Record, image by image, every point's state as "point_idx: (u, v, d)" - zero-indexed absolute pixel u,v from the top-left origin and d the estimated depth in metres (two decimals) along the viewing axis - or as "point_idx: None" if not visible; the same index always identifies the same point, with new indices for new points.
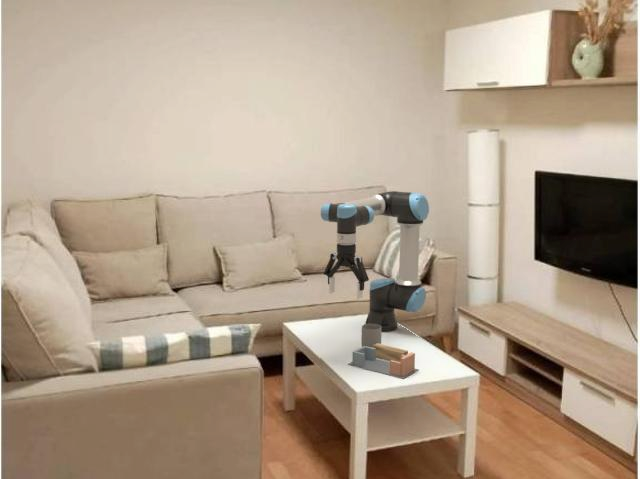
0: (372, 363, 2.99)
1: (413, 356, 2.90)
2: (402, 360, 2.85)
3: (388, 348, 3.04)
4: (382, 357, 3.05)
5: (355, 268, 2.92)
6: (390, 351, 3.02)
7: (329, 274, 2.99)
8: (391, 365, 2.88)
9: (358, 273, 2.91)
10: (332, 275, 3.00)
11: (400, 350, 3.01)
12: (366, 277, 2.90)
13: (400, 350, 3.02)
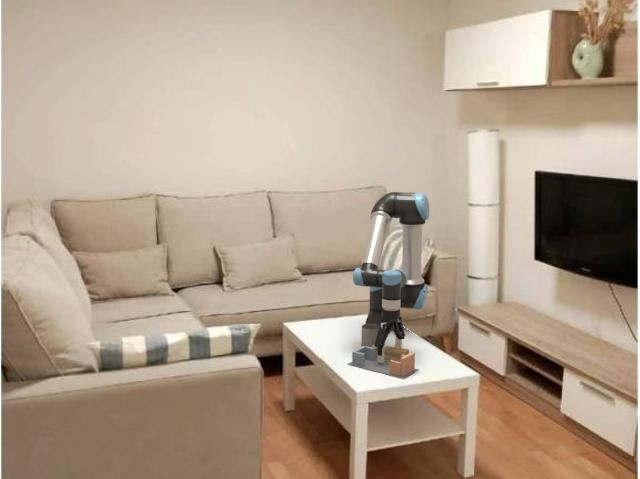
0: (372, 363, 2.99)
1: (413, 356, 2.90)
2: (402, 360, 2.85)
3: (388, 348, 3.04)
4: None
5: (383, 333, 3.00)
6: (392, 351, 3.02)
7: None
8: (391, 365, 2.88)
9: None
10: (400, 338, 3.09)
11: (401, 350, 3.02)
12: (377, 343, 2.96)
13: (401, 349, 3.03)
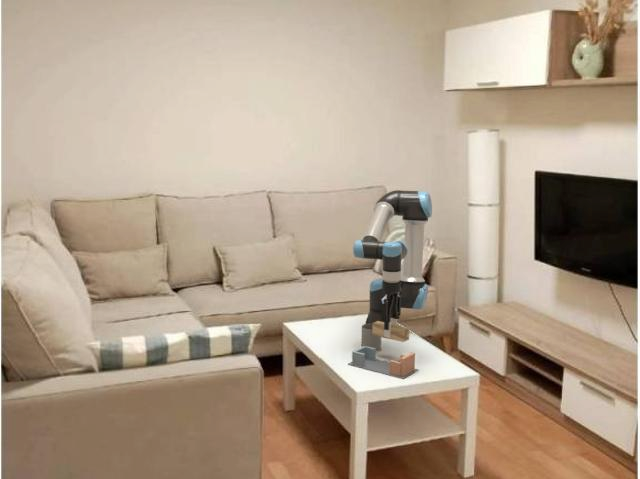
0: (372, 363, 2.99)
1: (413, 356, 2.90)
2: (402, 360, 2.85)
3: None
4: (383, 335, 3.04)
5: None
6: (391, 328, 3.01)
7: None
8: (391, 365, 2.88)
9: None
10: (395, 317, 3.04)
11: (401, 328, 3.00)
12: (383, 318, 2.98)
13: (401, 327, 3.01)
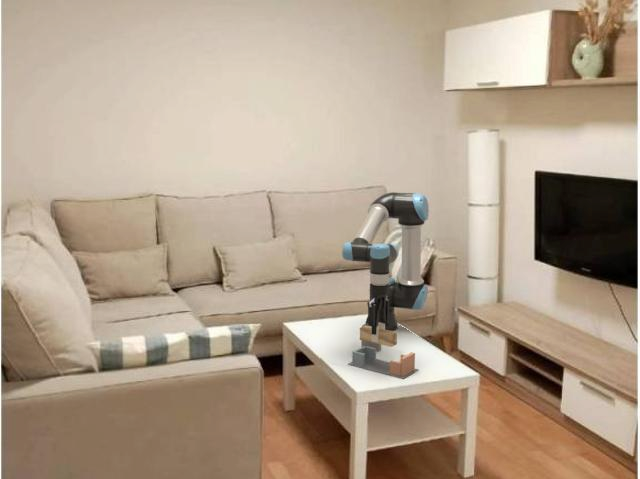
0: (372, 363, 2.99)
1: (413, 356, 2.90)
2: (402, 360, 2.85)
3: None
4: (370, 339, 2.95)
5: (374, 311, 2.91)
6: (379, 333, 2.92)
7: None
8: (391, 365, 2.88)
9: None
10: (383, 321, 2.96)
11: (389, 332, 2.91)
12: (371, 322, 2.89)
13: (389, 332, 2.92)
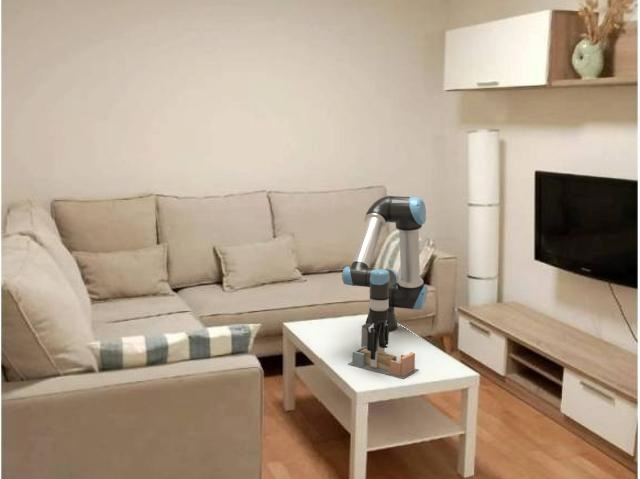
0: None
1: (413, 356, 2.90)
2: (402, 360, 2.85)
3: None
4: (370, 363, 2.97)
5: (373, 336, 2.93)
6: (378, 357, 2.94)
7: None
8: (391, 365, 2.88)
9: None
10: (383, 346, 2.98)
11: (388, 356, 2.93)
12: (370, 348, 2.91)
13: (388, 355, 2.94)
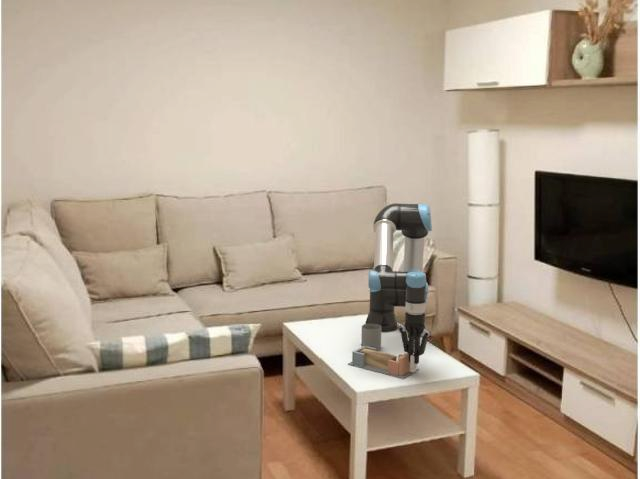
0: None
1: None
2: (400, 359, 2.85)
3: (376, 353, 2.96)
4: (370, 363, 2.97)
5: (418, 340, 2.84)
6: (378, 357, 2.94)
7: (409, 351, 2.86)
8: (389, 364, 2.88)
9: (418, 346, 2.84)
10: (413, 351, 2.87)
11: (388, 356, 2.93)
12: (423, 351, 2.84)
13: (388, 355, 2.94)
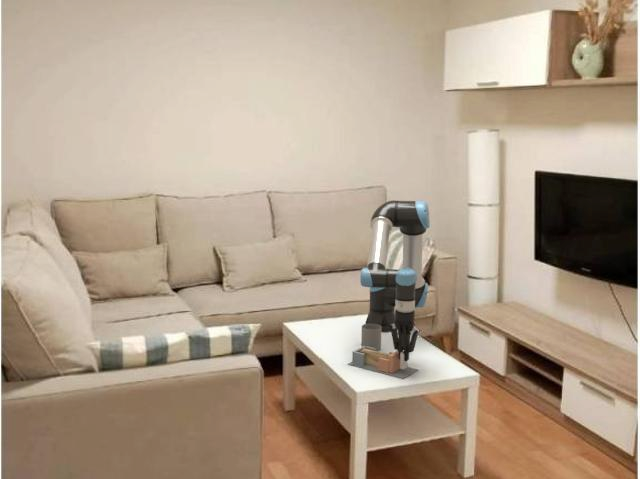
0: None
1: None
2: (390, 357, 2.88)
3: (376, 353, 2.96)
4: (370, 363, 2.97)
5: (408, 338, 2.87)
6: (378, 357, 2.94)
7: (399, 348, 2.88)
8: (379, 362, 2.91)
9: (407, 343, 2.87)
10: (403, 349, 2.90)
11: (388, 356, 2.93)
12: (412, 349, 2.86)
13: (388, 355, 2.94)
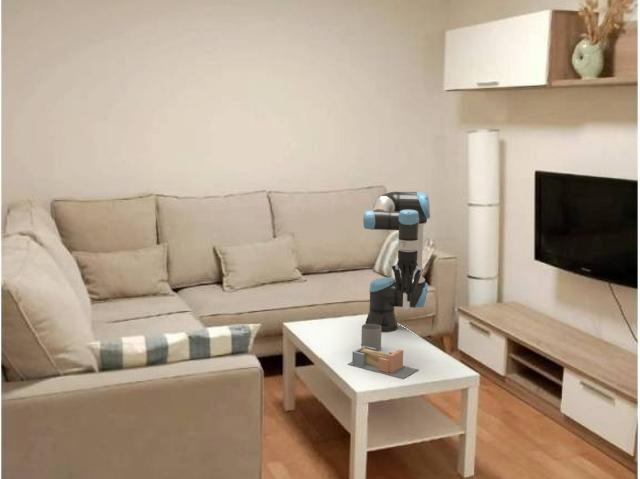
0: None
1: (401, 353, 2.93)
2: (390, 357, 2.88)
3: (376, 353, 2.96)
4: (370, 363, 2.97)
5: (411, 278, 2.88)
6: (378, 357, 2.94)
7: (402, 289, 2.90)
8: (379, 362, 2.91)
9: (410, 284, 2.88)
10: (406, 289, 2.91)
11: (388, 356, 2.93)
12: (415, 289, 2.88)
13: (388, 355, 2.94)
